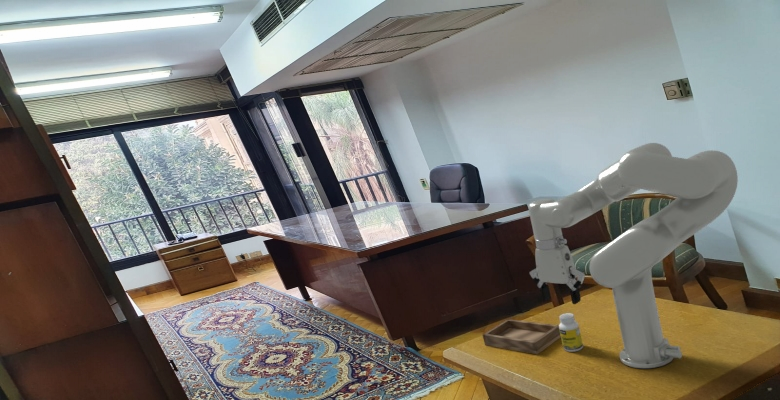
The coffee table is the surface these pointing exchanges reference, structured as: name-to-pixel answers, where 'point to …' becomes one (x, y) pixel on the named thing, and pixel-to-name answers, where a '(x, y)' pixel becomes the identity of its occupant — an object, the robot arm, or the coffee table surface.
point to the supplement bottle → (570, 333)
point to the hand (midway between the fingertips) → (561, 301)
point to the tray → (522, 336)
